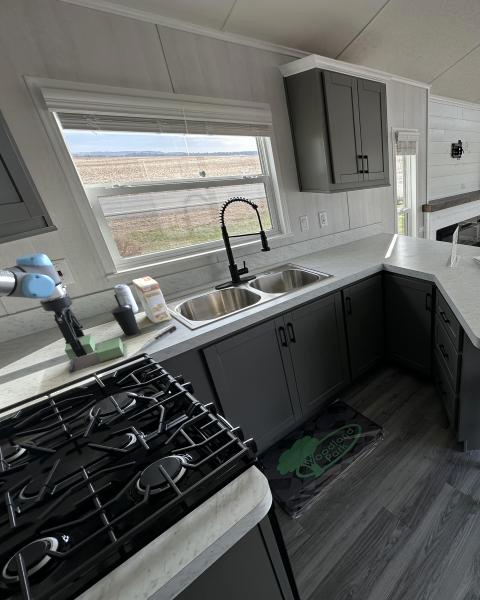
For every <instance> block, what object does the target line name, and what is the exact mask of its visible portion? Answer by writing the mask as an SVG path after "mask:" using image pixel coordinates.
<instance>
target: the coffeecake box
mask: <svg viewBox="0 0 480 600" xmlns="http://www.w3.org/2000/svg"><path fill="white" fill-rule="evenodd" d="M131 281H132V284H133V286H134V289H135V291H136V293H137V296H138V298H139V301H140V303H141V306H142V308H143V310H144V312H145V313H144V314H145V315H146V317H147V318H148V320H150V321H151V322H152V323H155V324H156V323H160V322H162V321H166V322H168V321H170V320H172V316H171V313H170V312H169V309H168V305H167V302H166V301H165V297H164V295H163V292H162V290H161V287H160V284H159V282H158V281H156V280H154V279H153V278H152V277H150V276H148V275H147V276H143V277H140V278H136V279H135V278H134V279H132V280H131Z"/></svg>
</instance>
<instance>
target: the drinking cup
mask: <svg viewBox="0 0 480 600" xmlns="http://www.w3.org/2000/svg"><path fill="white" fill-rule="evenodd" d="M113 297H114V298H115V301H116V303H117V305H116V306H114V307H112V308H111V309H110V310H109V313H110V314H112V316H113V317H114V319H115V321H116V322H117V324H118V326H119V328H120V329H121V330H122V332H123V334H124V335H125V336H126V337H131V336H134V335H137V334H139V333H140V328H139V326H138V323H137V322H138V321H137V319H136V316H135V313H133V309H132V305H130V304H123V305H120V302H119V300H118V298H117V296H116V294H114V295H113Z"/></svg>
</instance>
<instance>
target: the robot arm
mask: <svg viewBox="0 0 480 600" xmlns="http://www.w3.org/2000/svg"><path fill="white" fill-rule="evenodd" d="M15 264H16V265H14V266H11V267H6V268H3V269H0V298H2V297H9V298H24V299H25V298H26V299H31V300H32V299H33V300H37V301H39V304H40V306H41V308H42V309H43V311H45V312H54V314H53V317H54V321H55V323H56V324H57V326H58V329H59V330H60V333H61V334H62V336H63V339H64V341H65V342H64V343H65V345H66V344H70V346H71V347H72V349H73V351H74V353H75V354H76V356H77V357H81V356H84V355H88V354H87V353H86V351H85V350H84V348H83V346H82V344H81V342H80V340H79V339H77V338H78V337H82V336H86V334H85V333H84V331H83V330H82V329H83V328H84V326H83V325H81V323H80V322H79V320H78V319H77V316H76V315H75V313H74V312H73V311H72V308H71V305H73V300H72V298H71V296H70V295H69V294H67V293H68V292H67V290H66V288H67V286H66V285H64V284H63V282H62V281H61V279H60V276H59V275H58V273H57V270H56V268H55V267H54V264H53V263H52V261H51V260H50V258H49V257H48V256H47V255H46V254H44V253H30V254H26V255H22V256H19V257H17V258H15ZM77 357H76V358H77Z"/></svg>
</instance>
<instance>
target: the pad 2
mask: <svg viewBox="0 0 480 600" xmlns="http://www.w3.org/2000/svg"><path fill="white" fill-rule="evenodd" d="M123 344H124V343H123V342H122V340H121V337H116V338H113V339H109V340H106V341H105V340H104V341H101V342H98V343H97V348H96V352H97V355H98V357H99V359H100V361H101V362H102V361H105V360H109V359H112V358H115V357H118V356H122V355H123Z"/></svg>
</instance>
